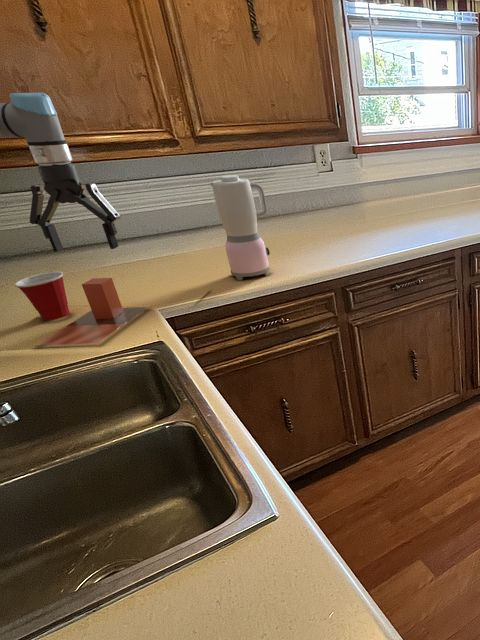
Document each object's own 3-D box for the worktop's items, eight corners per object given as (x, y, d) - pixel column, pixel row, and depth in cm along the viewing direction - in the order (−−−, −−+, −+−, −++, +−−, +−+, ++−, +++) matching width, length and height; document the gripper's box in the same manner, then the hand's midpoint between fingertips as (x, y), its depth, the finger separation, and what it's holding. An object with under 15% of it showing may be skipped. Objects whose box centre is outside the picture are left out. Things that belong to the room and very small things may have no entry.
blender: (237, 282, 169) (213, 180, 154) (227, 274, 178) (202, 176, 163) (285, 273, 178) (266, 175, 163) (273, 265, 186) (253, 171, 172)
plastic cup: (38, 314, 147) (20, 274, 141) (83, 308, 151) (67, 268, 145) (26, 328, 138) (6, 286, 132) (74, 321, 142) (57, 280, 136)
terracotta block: (95, 319, 141) (81, 284, 136) (105, 312, 146) (92, 278, 141) (113, 318, 141) (101, 283, 137) (123, 311, 146) (111, 277, 141)
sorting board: (36, 348, 127) (35, 345, 127) (94, 311, 148) (93, 309, 148) (99, 345, 128) (98, 342, 127) (148, 309, 149) (147, 307, 149)
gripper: (-12, 167, 121) (26, 255, 131) (102, 163, 124) (131, 250, 134) (9, 163, 128) (43, 247, 138) (117, 160, 131) (143, 242, 141)
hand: (87, 249), depth 136 cm, fingers open, 13 cm apart
